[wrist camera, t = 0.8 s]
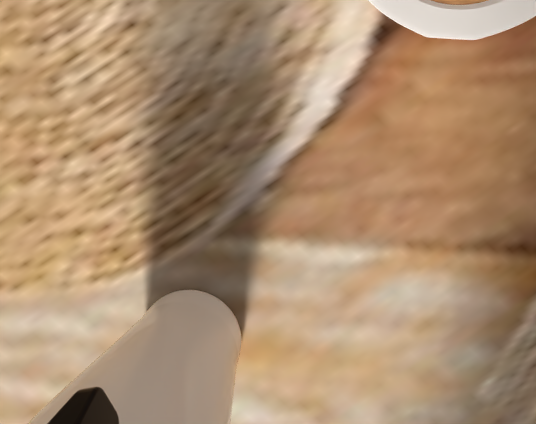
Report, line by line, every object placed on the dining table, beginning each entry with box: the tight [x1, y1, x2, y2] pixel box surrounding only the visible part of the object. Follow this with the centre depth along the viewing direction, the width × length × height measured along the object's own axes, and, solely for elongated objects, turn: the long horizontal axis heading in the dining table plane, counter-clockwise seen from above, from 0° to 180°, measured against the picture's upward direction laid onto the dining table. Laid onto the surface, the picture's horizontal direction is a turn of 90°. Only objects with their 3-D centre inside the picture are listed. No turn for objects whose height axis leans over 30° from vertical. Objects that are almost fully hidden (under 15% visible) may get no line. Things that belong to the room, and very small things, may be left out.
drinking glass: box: [28, 290, 241, 424], centre depth 19 cm, size 7×7×15 cm
